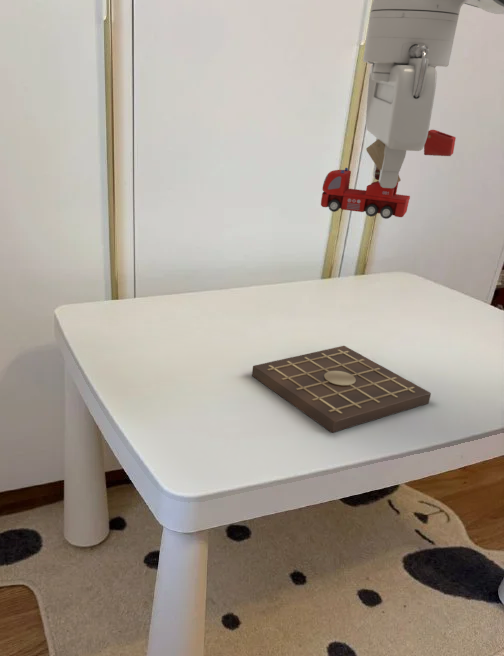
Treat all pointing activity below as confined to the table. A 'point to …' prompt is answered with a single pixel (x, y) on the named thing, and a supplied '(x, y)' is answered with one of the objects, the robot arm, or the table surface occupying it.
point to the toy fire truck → (377, 182)
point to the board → (340, 387)
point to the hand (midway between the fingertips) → (383, 183)
